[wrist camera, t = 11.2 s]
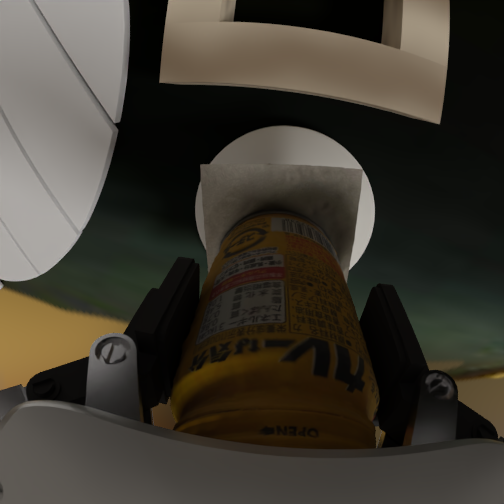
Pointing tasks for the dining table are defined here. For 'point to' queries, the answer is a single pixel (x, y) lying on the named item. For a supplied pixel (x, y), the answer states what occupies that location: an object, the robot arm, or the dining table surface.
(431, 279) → the dining table surface
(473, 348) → the dining table surface
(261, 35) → the holder
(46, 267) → the lazy susan
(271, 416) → the condiment
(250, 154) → the coaster
